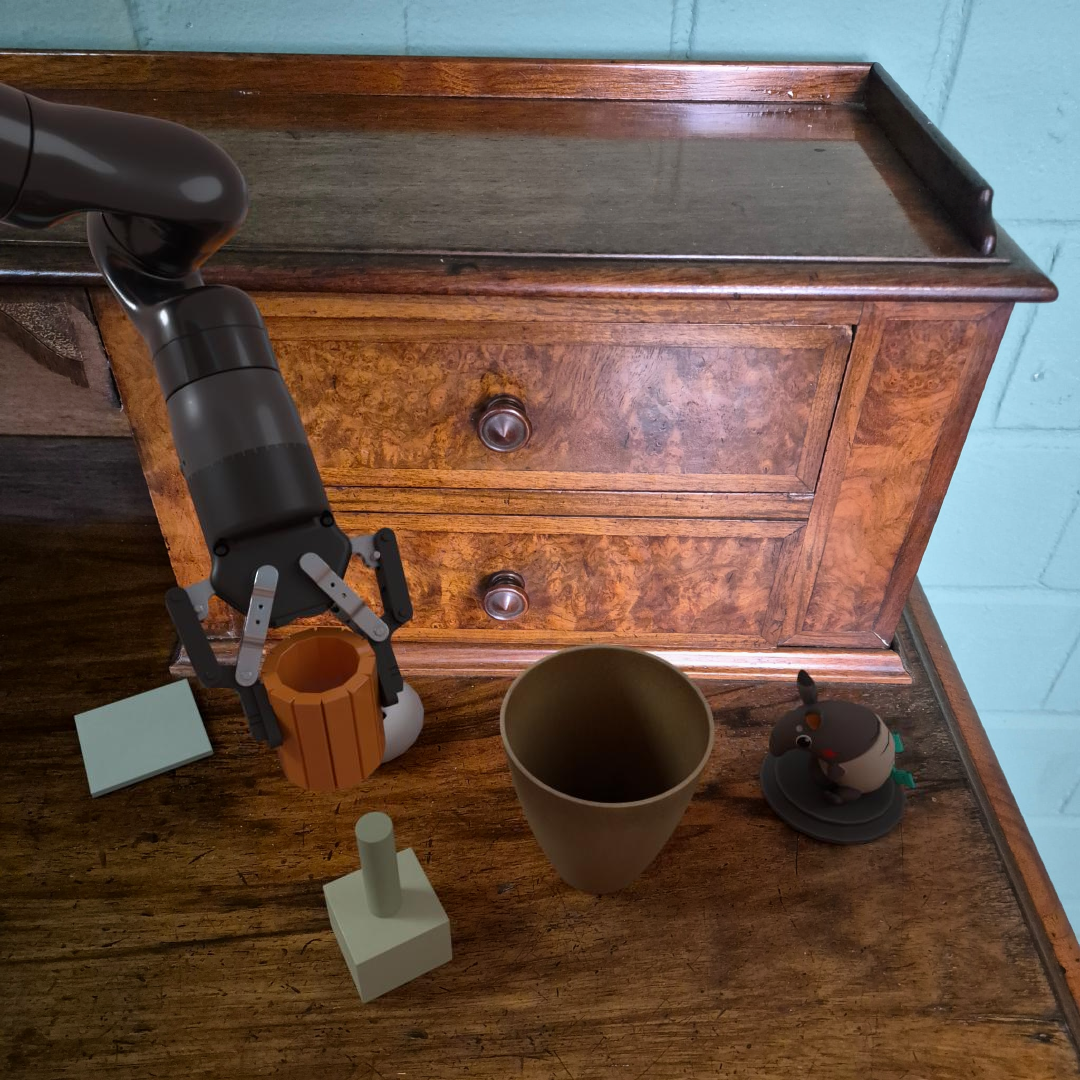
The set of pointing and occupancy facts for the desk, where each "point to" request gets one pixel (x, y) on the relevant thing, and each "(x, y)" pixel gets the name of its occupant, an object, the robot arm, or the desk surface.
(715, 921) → the desk surface
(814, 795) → the figurine
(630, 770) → the plant pot
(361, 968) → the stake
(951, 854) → the desk surface
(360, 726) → the pen holder
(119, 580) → the desk surface
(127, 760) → the mat
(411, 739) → the donut
